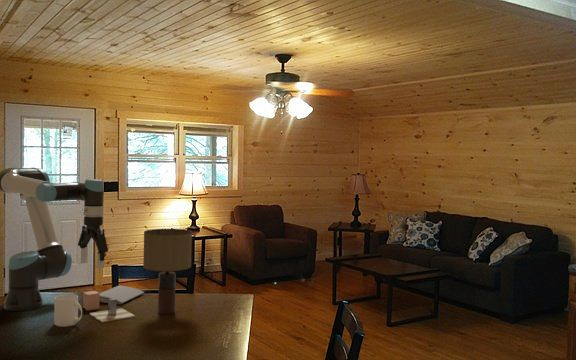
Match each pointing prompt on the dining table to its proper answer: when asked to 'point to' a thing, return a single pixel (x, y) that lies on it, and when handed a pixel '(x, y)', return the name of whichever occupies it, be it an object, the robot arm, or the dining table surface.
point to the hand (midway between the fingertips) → (92, 265)
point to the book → (120, 294)
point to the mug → (66, 310)
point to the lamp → (167, 261)
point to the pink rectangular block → (91, 300)
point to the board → (105, 317)
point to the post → (112, 306)
